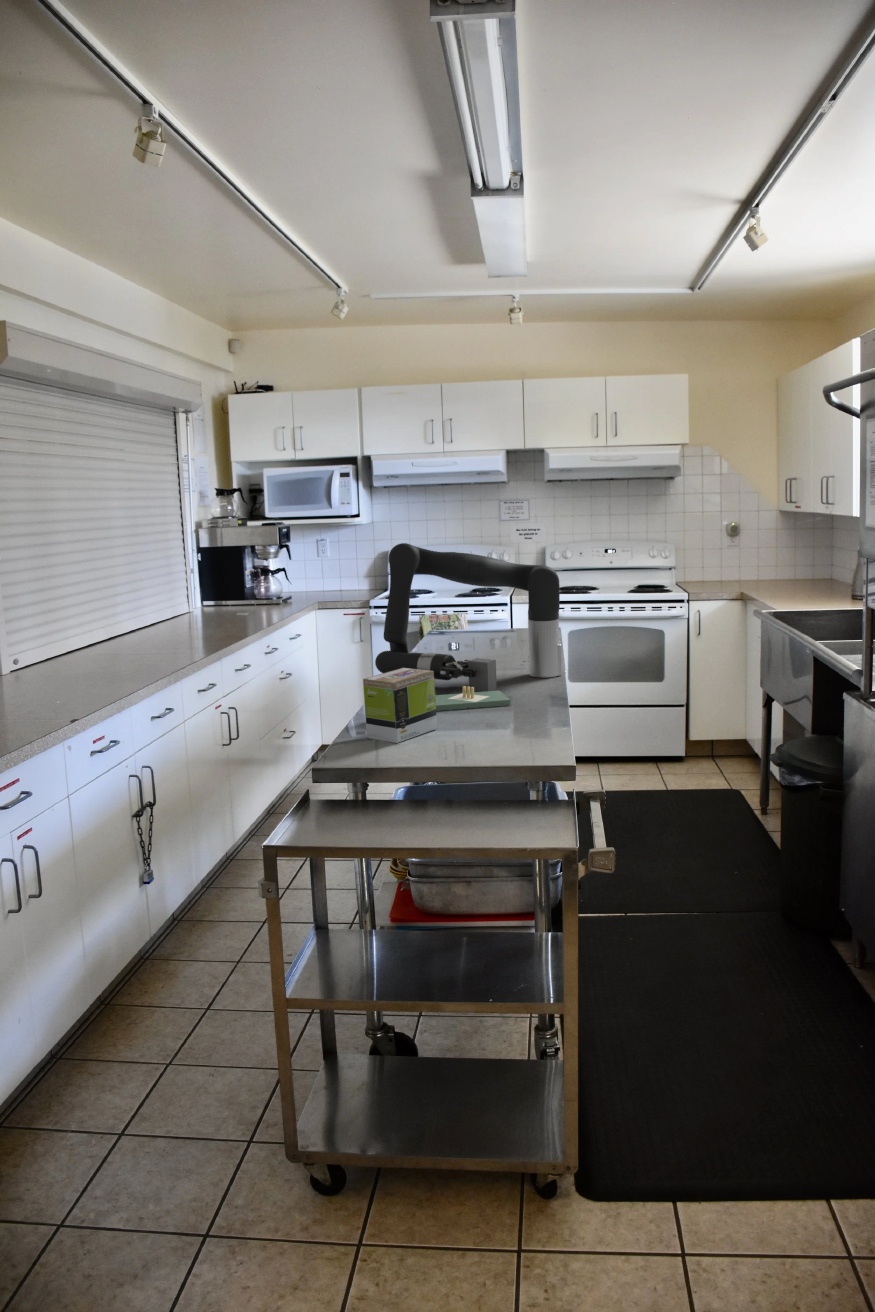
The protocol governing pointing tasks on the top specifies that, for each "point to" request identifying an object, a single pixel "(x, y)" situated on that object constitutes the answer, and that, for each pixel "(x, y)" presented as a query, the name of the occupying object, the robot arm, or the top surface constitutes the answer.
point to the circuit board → (470, 700)
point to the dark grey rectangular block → (483, 675)
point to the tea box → (400, 704)
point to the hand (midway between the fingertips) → (483, 670)
